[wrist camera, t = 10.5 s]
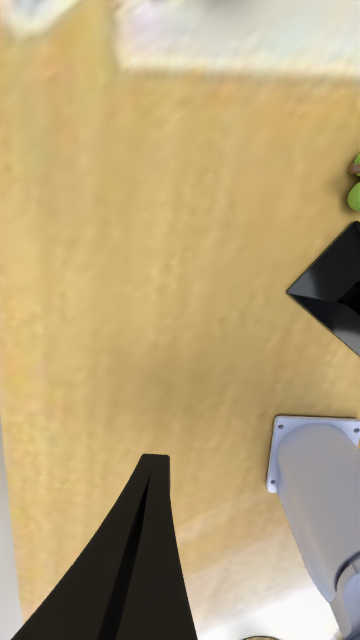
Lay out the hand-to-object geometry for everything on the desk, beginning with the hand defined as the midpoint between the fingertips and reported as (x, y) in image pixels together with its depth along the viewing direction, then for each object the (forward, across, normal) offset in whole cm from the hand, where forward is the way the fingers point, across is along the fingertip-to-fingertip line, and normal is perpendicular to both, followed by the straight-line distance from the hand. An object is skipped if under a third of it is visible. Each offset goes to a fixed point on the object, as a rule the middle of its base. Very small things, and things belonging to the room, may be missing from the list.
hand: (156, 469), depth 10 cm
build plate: (+10, -17, -7) cm, 20 cm away
